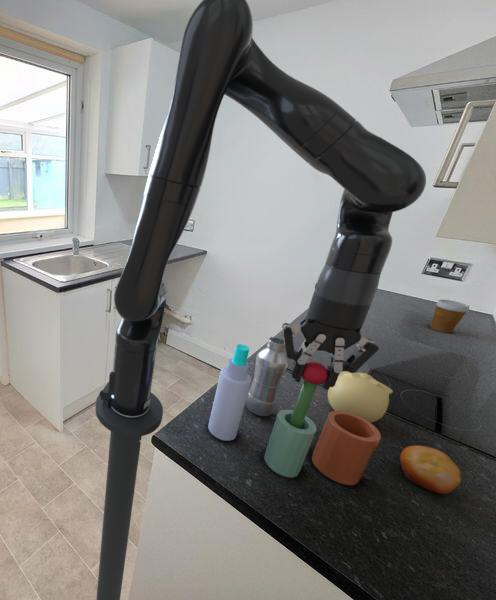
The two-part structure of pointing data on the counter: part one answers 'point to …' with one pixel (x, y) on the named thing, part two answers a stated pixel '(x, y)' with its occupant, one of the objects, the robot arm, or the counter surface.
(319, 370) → the rose
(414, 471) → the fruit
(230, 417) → the spray bottle
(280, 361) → the silver metal bottle
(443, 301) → the disposable coffee cup
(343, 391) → the sculpture
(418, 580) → the counter surface
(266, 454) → the celadon vase
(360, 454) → the terracotta vase
